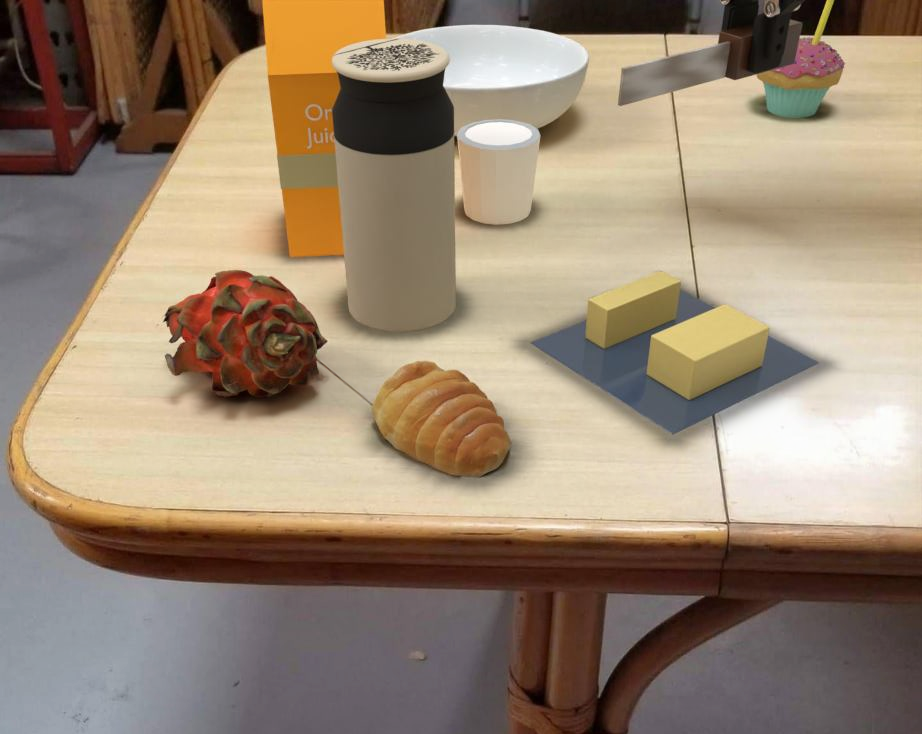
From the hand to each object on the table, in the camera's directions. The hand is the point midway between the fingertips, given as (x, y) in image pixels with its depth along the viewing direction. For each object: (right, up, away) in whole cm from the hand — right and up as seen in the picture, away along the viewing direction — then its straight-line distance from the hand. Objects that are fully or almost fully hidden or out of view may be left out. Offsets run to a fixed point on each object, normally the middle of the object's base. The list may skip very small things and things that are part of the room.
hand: (748, 62), depth 81 cm
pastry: (-23, -30, -14) cm, 40 cm away
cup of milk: (-19, -8, +11) cm, 23 cm away
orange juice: (-32, -11, +8) cm, 35 cm away
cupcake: (+12, +8, +29) cm, 32 cm away
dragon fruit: (-36, -26, -9) cm, 46 cm away
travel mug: (-26, -19, -2) cm, 33 cm away
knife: (-4, -2, -2) cm, 5 cm away
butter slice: (-10, -21, -5) cm, 24 cm away
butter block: (-6, -25, -9) cm, 27 cm away
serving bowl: (-20, +6, +27) cm, 34 cm away
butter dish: (-7, -24, -7) cm, 26 cm away
